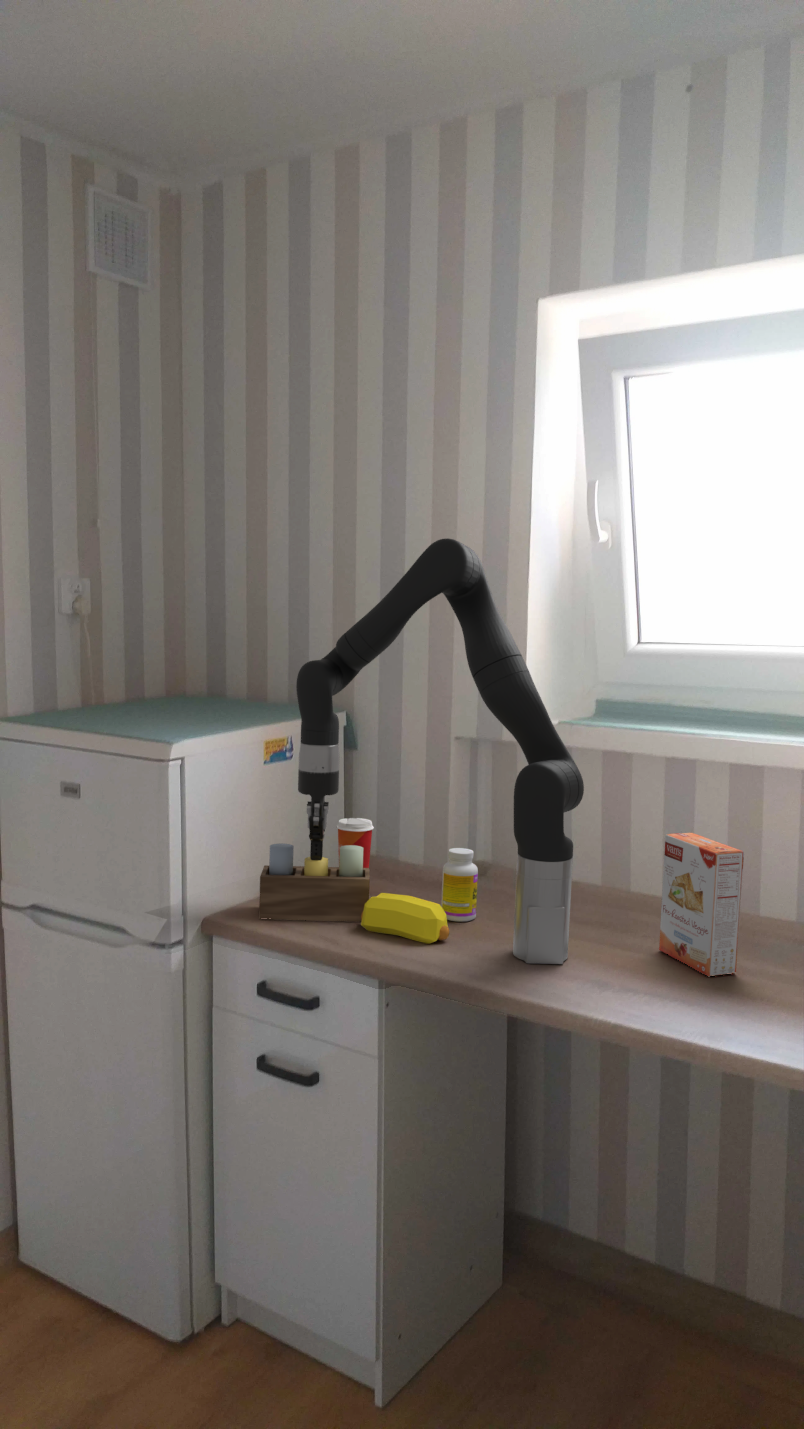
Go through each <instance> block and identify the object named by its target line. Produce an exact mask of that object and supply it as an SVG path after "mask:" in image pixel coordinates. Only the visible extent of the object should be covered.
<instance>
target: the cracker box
mask: <svg viewBox="0 0 804 1429" xmlns="http://www.w3.org/2000/svg"><path fill="white" fill-rule="evenodd" d="M664 839H665V840H664V855H663V856H664V857H663V873H662V892H661V906H660V907H661V911H660V927H659V947H658V949H659V950H658V951H660V952H662V953H664V954H665V955H667V954H668V955H667V956H669V957H671V958H673V959H675V960H676V959H677V961H678V960H679V961H678V962H680V961H681V963H682V962H683V963H682V964H684V963H685V964H687V965H688V967H689V966H690V967H689V968H691V967H692V968H691V969H693V968H694V969H695V970H694V969H693V970H694V971H696V970H697V971H696V972H698V971H699V972H698V973H700V972H701V973H703V974H705V975H707V976H712V975H721V974H727V973H732V972H736V973H737V964H738V951H739V950H738V949H739V933H740V932H739V931H740V917H741V903H742V901H741V900H742V887H743V875H744V874H743V872H744V855H745V852H744V851H743V850H741V849H738V848H735V847H733V846H730V845H727V844H724V843H721V842H718V841H716V840H713V839H710V838H708V837H705V836H702V835H700V834H696V833H695V832H683V833H682V832H678V833H677V832H675V833H667V834H665V838H664ZM685 964H684V965H685ZM687 965H686V966H687ZM701 973H700V974H701ZM703 974H702V975H703ZM705 975H704V976H705ZM707 976H706V977H707Z"/></svg>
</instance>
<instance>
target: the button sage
mask: <svg viewBox="0 0 804 1429" xmlns="http://www.w3.org/2000/svg"><path fill="white" fill-rule="evenodd" d="M338 867H339V877H363V847H361V846H355V845H346V846H341V847H340V858H339V857H338Z"/></svg>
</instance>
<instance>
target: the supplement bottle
mask: <svg viewBox="0 0 804 1429" xmlns="http://www.w3.org/2000/svg"><path fill="white" fill-rule="evenodd" d="M474 854H475V852H474V850H472V849H469V848H465V847H453V848H449V849H448V853H447V856H448V858H449V859H448V861H447V862H445V864H444V865H443V866H442V878H441V880H442V881H441V884H442V885H441V904H440V905H441V907H442V908H443V910H444V912H445V913H446V916H447V921H452V922H459V923H461V922H469V921H473V920H474V919H475V918H476V916H477V904H478V902H477V900H478V876H479V875H478V874H479V870H478V866H477V865H476V864H475V863H473V859H474Z"/></svg>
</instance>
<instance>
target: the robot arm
mask: <svg viewBox="0 0 804 1429" xmlns="http://www.w3.org/2000/svg"><path fill="white" fill-rule="evenodd" d="M485 572H486V571H485V569H484V565H483V564H482V561H481V559H480V557H479V555H478V554H477V553H476V551H474V550H473V549H472V548H471V547H470V546H468V545H465V544H464V543H462V542H460V541H459V540H456V539H454V538H449V537H448V538H440V539H437V540H436V541H433V542H432V543H431V544H430V545H429V546H427V547H426V549H425V550H424V551H423V552H422V553H421V554H420V556H419V557H418V558H417V559H416V560H415V561H414V563H413V564H412V565H411V566H410V567H409V569H408V570H407V572H405V574H404V575H403V576H402V577H401V578H400V579H399V581H398V582H397V583H396V584H395V585H394V586H393V587H392V588H391V590H390V591H389V592H388V593H387V594H386V595H385V596H384V597H383V598H382V599H381V600H379V602H378V603H377V604H376V605H375V606H374V607H373V608H371V609H370V610H369V611H368V612H367V613H366V614H365V615H364V616H363V617H361V619H359V620H358V621H357V622H355V623H354V624H353V625H352V626H351V627H350V628H349V629H348V630H346V631H345V633H343V634H342V635H341V636H340V637H339V639H338V640H337V641H336V644H335V647H333V649H331V651H330V652H328V653H327V654H326V655H325V656H323V658H321V659H315V660H310V661H308V662H305V663H304V664H303V665H302V666H301V667H300V669H299V671H298V673H297V677H296V685H295V687H296V697H297V703H298V704H297V705H298V709H299V710H298V711H299V714H300V719H301V723H300V747H299V752H298V773H297V775H298V777H297V778H298V779H297V791H298V792H299V793H300V794H301V795H305V796H310V798H311V799H310V800H311V801H310V800H309V801H307V804H306V814H307V828H308V829H309V834H308V839H309V840H310V851H309V852H310V854H309V855H310V856H309V857H310V859H311V860H322V857H323V853H324V852H323V850H324V849H323V848H324V839H325V832H326V828H327V825H328V824H327V823H328V814H329V807H330V806H329V805H330V803H329V801H325V798H326V796H334V795H337V794H338V793H339V788H340V786H339V785H340V747H339V742H340V741H339V739H340V738H339V734H340V720H339V716H338V715H337V714H336V712H334V707H333V705H334V704H333V696H335V695H337V694H339V693H340V692H342V691H343V690H344V689H345V688H346V687H347V686H348V685H349V684H350V683H351V682H352V681H353V680H354V679H355V678H356V676H358V674H359V673H360V672H361V671H362V670H363V668H365V667H366V666H368V665H369V664H370V663H372V662H373V661H374V660H375V659H376V658H377V657H379V655H381V654H382V653H383V652H384V651H385V650H386V649H388V648H389V647H390V646H391V644H392V643H394V642H395V641H396V639H397V637H398V636H399V635H400V634H401V632H402V630H403V629H404V627H405V626H406V624H407V623H408V621H410V619H411V618H412V617H413V616H414V615H415V613H416V612H418V610H419V609H420V608H422V607H423V606H424V605H425V604H427V603H428V602H430V601H431V600H432V599H434V598H436V597H437V596H438V595H440V594H443V595H444V597H445V598H446V600H447V601H448V603H449V605H450V607H451V608H452V610H453V612H454V615H455V616H456V618H457V620H458V622H459V624H460V629H461V631H462V634H463V635H462V636H463V642H464V648H465V656H466V659H467V665H468V667H469V671H470V673H471V677H472V678H473V681H474V684H475V685H476V688H477V690H478V693H479V695H480V697H481V698H482V701H483V703H484V704H485V706H486V707H487V708H488V711H490V712H491V714H492V715H494V718H496V719H497V720H498V722H499V723H501V724H502V726H504V728H505V729H506V730H507V731H508V732H509V733H510V735H512V737H513V738H514V739H515V740H516V742H517V743H518V745H519V747H520V748H521V750H522V752H523V754H524V757H525V759H526V762H527V765H526V766H524V767H523V768H522V769H521V770H520V771H519V772H518V775H517V777H516V779H515V784H514V789H513V835H514V839H515V842H516V844H517V845H516V846H517V851H516V852H517V853H516V855H517V857H516V858H517V859H516V874H515V876H516V877H515V879H516V880H515V897H514V917H513V918H514V920H513V943H512V944H513V945H512V954H513V956H515V958H517V959H519V960H522V961H524V962H525V964H545V965H548V964H552V965H563V964H564V961H566V960H567V959H568V956H569V939H570V937H569V936H570V935H569V934H570V919H571V916H570V915H571V914H570V913H571V897H572V880H573V878H572V875H573V863H574V862H573V859H574V858H573V857H574V843H573V840H572V839H571V838H569V837H568V836H567V835H566V834H565V830H564V824H565V823H564V822H565V821H564V820H565V819H564V813H567V812H570V811H572V810H574V809H576V808H578V806H579V805H580V804H581V801H582V800H583V797H584V793H585V792H584V791H585V787H584V786H585V785H584V779H583V776H582V774H581V771H580V770H579V768H578V766H577V763H576V762H575V760H574V759H573V756H572V755H571V754H570V752H569V751H568V749H567V747H566V745H565V743H564V742H563V740H562V739H561V736H560V735H559V733H558V731H557V730H556V728H555V726H554V724H553V722H552V720H551V717H550V715H549V713H548V710H547V709H546V706H545V704H544V702H543V700H542V697H541V696H540V693H539V692H538V689H537V687H536V685H535V683H534V680H533V678H532V675H531V673H530V670H529V669H528V668H529V667H528V666H527V664H526V662H525V659H524V657H523V655H522V653H521V651H520V649H519V647H518V645H517V644H516V641H515V639H514V638H513V635H512V633H511V631H510V629H509V627H508V625H507V624H506V622H505V620H504V619H503V617H502V615H501V613H500V611H499V609H498V607H497V604H496V602H495V599H494V596H493V593H492V590H491V587H490V584H489V581H488V579H487V575H486V573H485Z"/></svg>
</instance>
